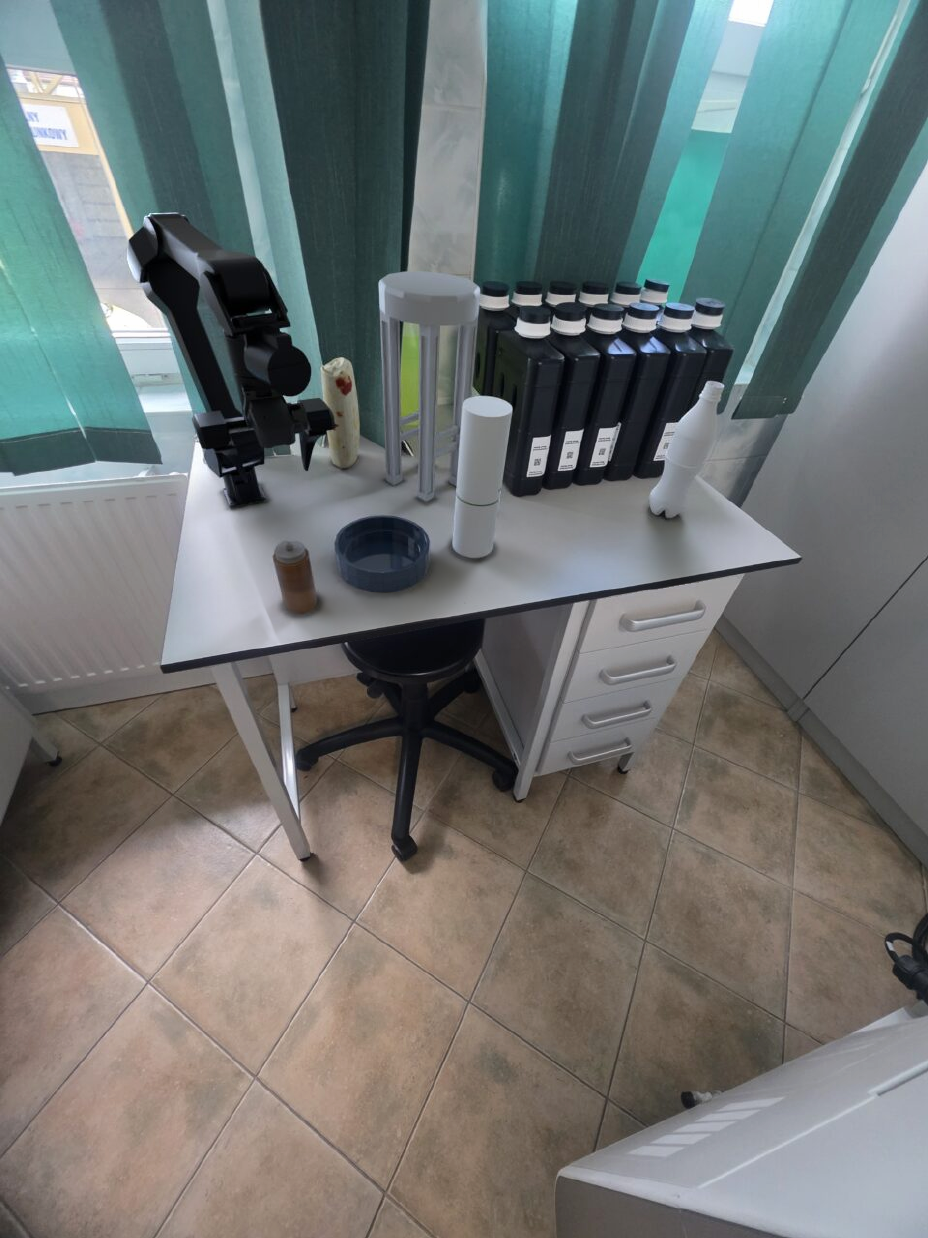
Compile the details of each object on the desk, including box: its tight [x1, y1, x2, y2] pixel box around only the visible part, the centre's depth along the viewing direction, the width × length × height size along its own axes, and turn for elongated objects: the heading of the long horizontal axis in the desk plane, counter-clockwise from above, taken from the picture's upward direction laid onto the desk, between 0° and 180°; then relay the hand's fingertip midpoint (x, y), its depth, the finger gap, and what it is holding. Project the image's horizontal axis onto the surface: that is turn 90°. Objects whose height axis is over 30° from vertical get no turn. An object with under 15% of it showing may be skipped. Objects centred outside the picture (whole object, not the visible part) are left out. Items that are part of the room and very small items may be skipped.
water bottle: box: [648, 380, 725, 519], centre depth 94 cm, size 7×7×25 cm
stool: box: [378, 270, 481, 502], centre depth 92 cm, size 16×16×35 cm
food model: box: [319, 356, 361, 469], centre depth 100 cm, size 10×7×20 cm
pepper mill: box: [272, 539, 318, 614], centre depth 72 cm, size 5×5×12 cm
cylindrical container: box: [452, 395, 513, 559], centre depth 81 cm, size 7×7×25 cm
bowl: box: [333, 514, 431, 593], centre depth 83 cm, size 15×15×4 cm
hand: (276, 475), depth 79 cm, fingers open, 9 cm apart
